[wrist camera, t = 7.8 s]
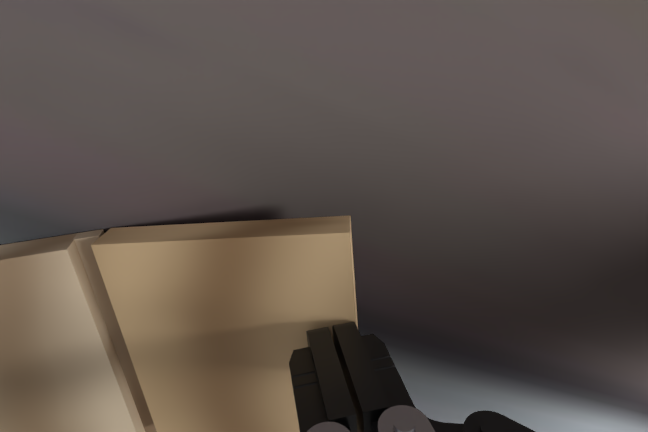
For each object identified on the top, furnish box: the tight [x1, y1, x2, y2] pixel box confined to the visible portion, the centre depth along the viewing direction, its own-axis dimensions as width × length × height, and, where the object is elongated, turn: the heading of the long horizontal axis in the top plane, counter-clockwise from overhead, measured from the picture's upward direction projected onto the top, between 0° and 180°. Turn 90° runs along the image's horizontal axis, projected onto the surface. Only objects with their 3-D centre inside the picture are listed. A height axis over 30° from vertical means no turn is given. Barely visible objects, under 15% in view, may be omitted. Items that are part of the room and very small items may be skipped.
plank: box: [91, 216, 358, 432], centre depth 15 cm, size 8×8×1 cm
